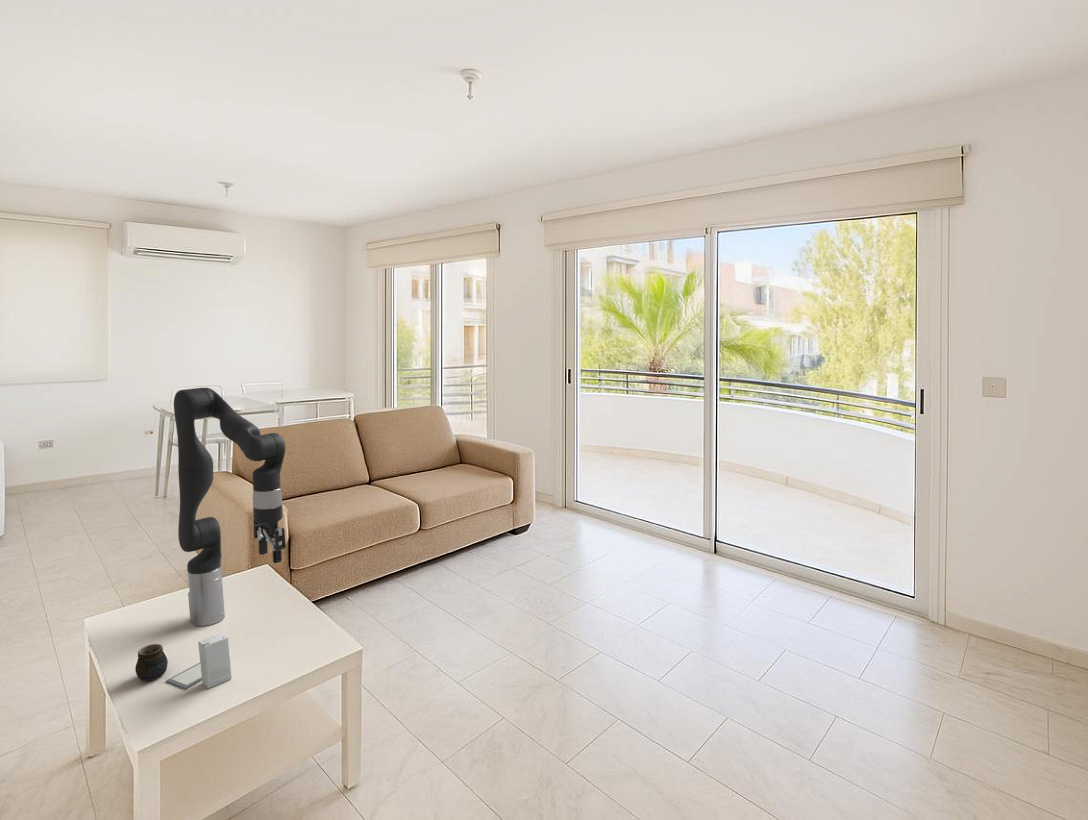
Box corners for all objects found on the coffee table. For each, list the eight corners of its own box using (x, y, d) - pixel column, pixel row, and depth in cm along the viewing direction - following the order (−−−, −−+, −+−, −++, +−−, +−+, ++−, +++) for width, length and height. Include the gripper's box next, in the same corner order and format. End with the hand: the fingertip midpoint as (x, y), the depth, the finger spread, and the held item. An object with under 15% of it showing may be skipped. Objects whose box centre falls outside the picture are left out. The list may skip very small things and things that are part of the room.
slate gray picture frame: (166, 681, 157) (166, 679, 157) (201, 662, 166) (201, 661, 166) (186, 689, 154) (185, 687, 154) (221, 669, 163) (221, 667, 163)
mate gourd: (163, 665, 165) (160, 632, 164) (173, 676, 160) (170, 641, 159) (132, 677, 160) (129, 642, 158) (142, 688, 155) (139, 652, 153)
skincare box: (225, 673, 161) (222, 631, 160) (232, 679, 158) (229, 636, 157) (200, 683, 157) (197, 640, 155) (207, 690, 154) (204, 646, 152)
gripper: (243, 501, 170) (245, 555, 173) (266, 512, 161) (268, 569, 164) (269, 495, 176) (271, 547, 178) (292, 506, 167) (295, 561, 169)
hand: (270, 558), depth 171 cm, fingers open, 8 cm apart
